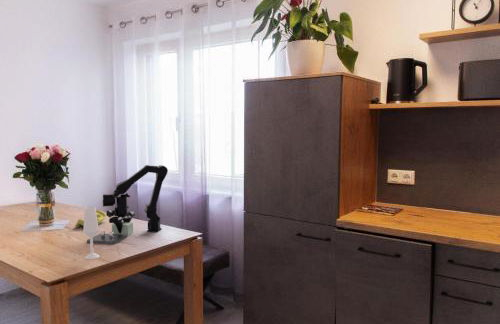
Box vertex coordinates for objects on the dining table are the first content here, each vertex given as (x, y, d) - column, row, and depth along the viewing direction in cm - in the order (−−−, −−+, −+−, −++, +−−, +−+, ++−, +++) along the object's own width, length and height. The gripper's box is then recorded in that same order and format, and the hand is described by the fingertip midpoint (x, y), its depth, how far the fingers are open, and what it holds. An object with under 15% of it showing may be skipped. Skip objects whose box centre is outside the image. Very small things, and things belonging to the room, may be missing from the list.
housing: (133, 232, 226) (133, 222, 226) (128, 235, 220) (127, 225, 220) (117, 231, 228) (117, 221, 228) (112, 234, 222) (111, 224, 222)
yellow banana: (91, 225, 234) (77, 217, 235) (87, 235, 236) (73, 228, 237) (109, 215, 254) (96, 208, 255) (105, 224, 255) (92, 218, 256)
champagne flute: (97, 258, 182) (95, 208, 180) (82, 259, 181) (80, 209, 179) (101, 254, 189) (99, 205, 186) (87, 254, 188) (85, 206, 186)
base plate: (126, 237, 217) (126, 229, 216) (114, 244, 204) (113, 236, 204) (100, 235, 220) (100, 228, 219) (87, 242, 207) (86, 234, 207)
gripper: (117, 201, 233) (118, 226, 235) (99, 208, 215) (101, 235, 217) (134, 202, 231) (135, 227, 233) (118, 208, 213) (119, 236, 214)
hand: (122, 231), depth 224 cm, fingers closed on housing, 6 cm apart
